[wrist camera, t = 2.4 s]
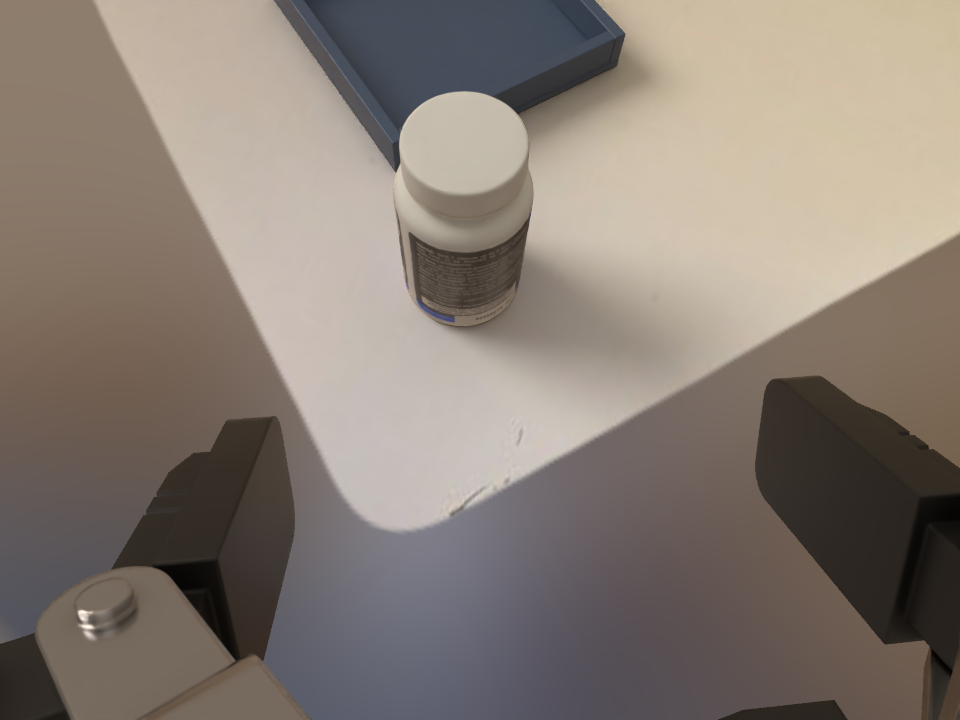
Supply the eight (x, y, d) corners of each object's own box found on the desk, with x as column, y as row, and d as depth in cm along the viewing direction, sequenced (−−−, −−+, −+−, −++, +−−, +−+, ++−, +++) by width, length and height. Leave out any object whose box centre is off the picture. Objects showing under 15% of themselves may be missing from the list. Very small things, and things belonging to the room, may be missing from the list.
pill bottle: (542, 288, 29) (575, 156, 21) (449, 350, 28) (447, 234, 20) (473, 209, 30) (480, 57, 22) (381, 264, 29) (356, 124, 21)
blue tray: (395, 172, 31) (392, 143, 29) (271, -3, 34) (262, -38, 33) (617, 65, 34) (626, 33, 32) (480, -86, 37) (482, -122, 36)
